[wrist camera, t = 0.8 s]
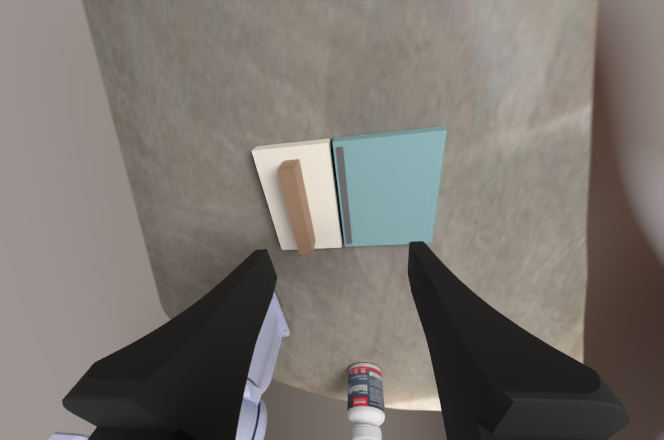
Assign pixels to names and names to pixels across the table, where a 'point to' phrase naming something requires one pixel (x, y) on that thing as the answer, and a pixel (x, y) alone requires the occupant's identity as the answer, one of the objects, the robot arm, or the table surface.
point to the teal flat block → (389, 185)
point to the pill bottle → (365, 401)
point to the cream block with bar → (301, 194)
